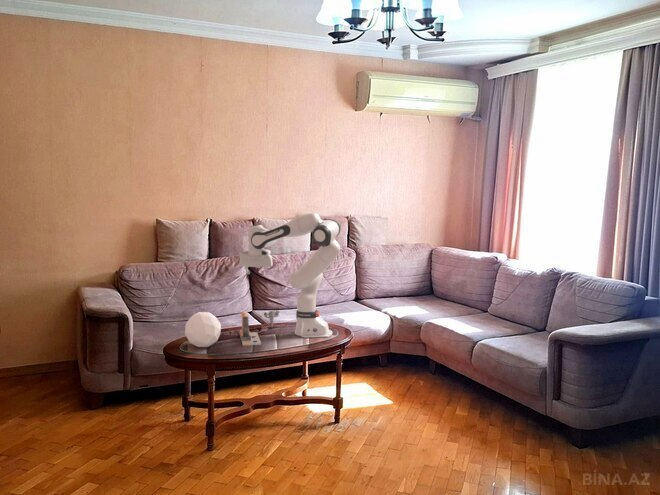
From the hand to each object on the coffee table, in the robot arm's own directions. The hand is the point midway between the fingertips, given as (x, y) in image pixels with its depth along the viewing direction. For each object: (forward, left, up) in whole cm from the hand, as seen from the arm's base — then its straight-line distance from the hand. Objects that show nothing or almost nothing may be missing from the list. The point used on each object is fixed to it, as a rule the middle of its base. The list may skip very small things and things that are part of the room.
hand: (256, 274), depth 355 cm
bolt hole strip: (-4, +23, -34) cm, 41 cm away
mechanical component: (-8, -6, -34) cm, 36 cm away
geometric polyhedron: (+20, +40, -34) cm, 56 cm away
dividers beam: (0, +25, -34) cm, 42 cm away
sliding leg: (+1, +24, -31) cm, 39 cm away
